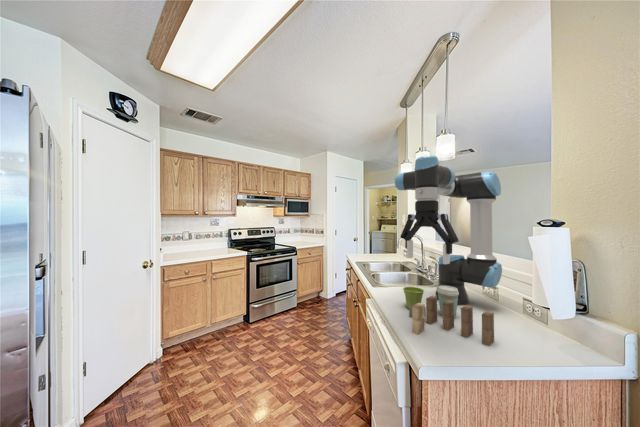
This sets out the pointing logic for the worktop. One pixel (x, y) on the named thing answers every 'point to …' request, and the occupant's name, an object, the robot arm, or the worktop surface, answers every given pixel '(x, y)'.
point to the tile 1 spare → (418, 318)
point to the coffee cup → (447, 297)
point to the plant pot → (413, 295)
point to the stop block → (411, 311)
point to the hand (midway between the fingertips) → (426, 260)
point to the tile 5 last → (431, 309)
